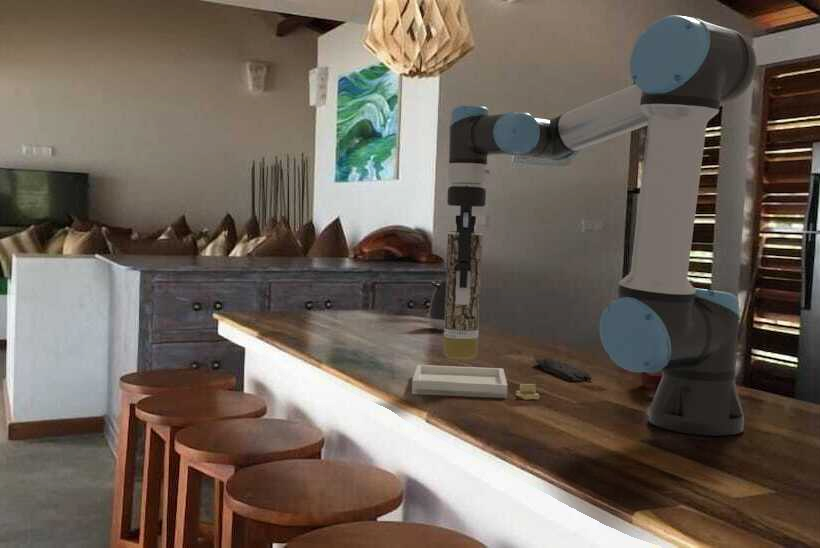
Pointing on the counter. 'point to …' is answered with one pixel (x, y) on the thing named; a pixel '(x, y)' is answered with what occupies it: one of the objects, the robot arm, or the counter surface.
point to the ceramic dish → (459, 381)
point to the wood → (563, 370)
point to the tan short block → (527, 392)
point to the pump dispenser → (438, 305)
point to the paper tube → (462, 317)
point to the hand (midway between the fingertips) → (462, 302)
